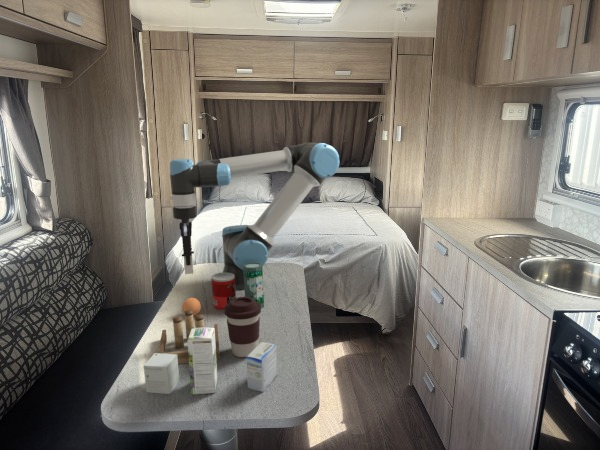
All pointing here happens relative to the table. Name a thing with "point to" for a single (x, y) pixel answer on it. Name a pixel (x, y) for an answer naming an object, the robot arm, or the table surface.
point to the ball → (191, 305)
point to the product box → (161, 373)
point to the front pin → (189, 322)
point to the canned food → (223, 289)
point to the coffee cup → (243, 325)
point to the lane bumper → (183, 355)
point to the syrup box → (202, 360)
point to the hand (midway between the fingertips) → (189, 273)
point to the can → (254, 281)
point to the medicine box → (261, 366)
